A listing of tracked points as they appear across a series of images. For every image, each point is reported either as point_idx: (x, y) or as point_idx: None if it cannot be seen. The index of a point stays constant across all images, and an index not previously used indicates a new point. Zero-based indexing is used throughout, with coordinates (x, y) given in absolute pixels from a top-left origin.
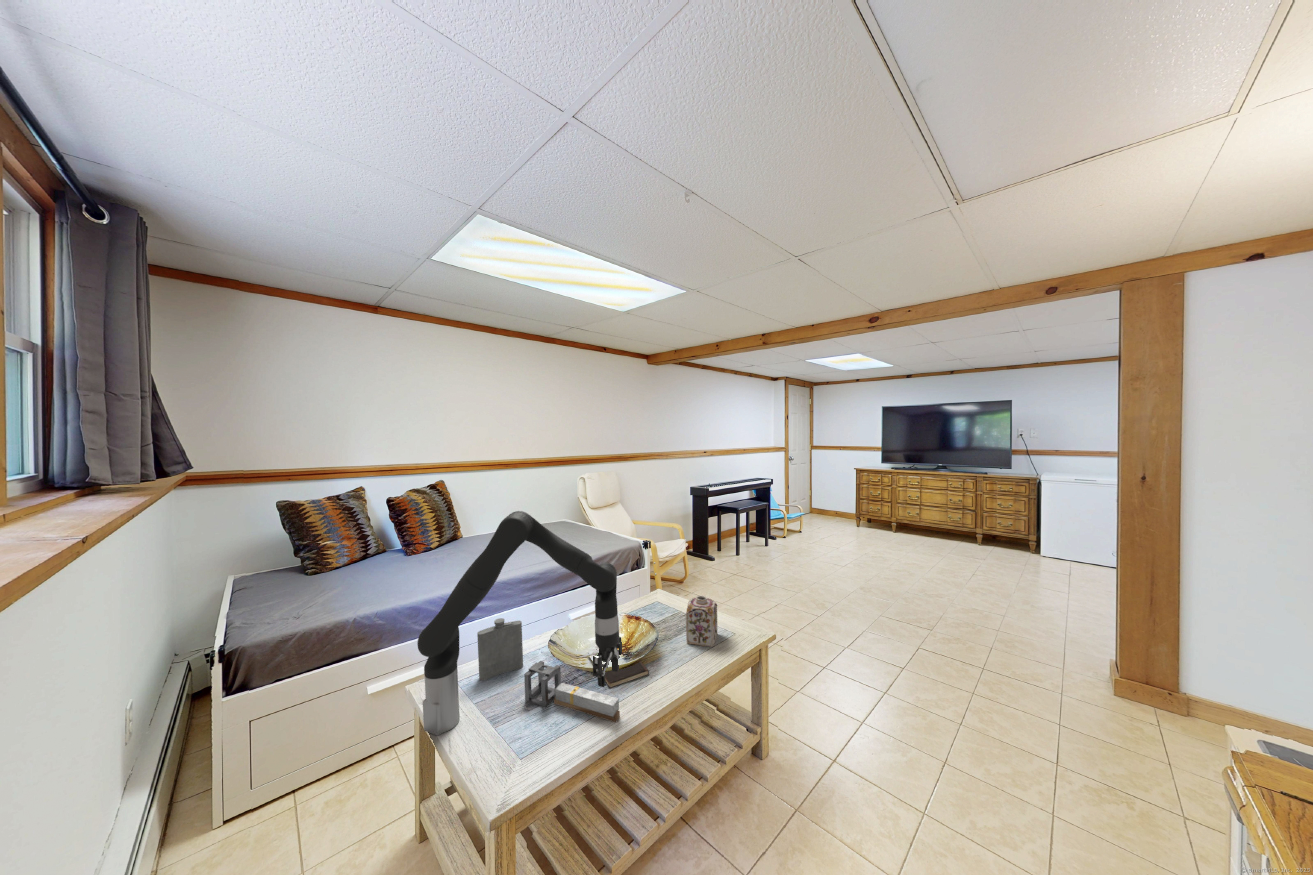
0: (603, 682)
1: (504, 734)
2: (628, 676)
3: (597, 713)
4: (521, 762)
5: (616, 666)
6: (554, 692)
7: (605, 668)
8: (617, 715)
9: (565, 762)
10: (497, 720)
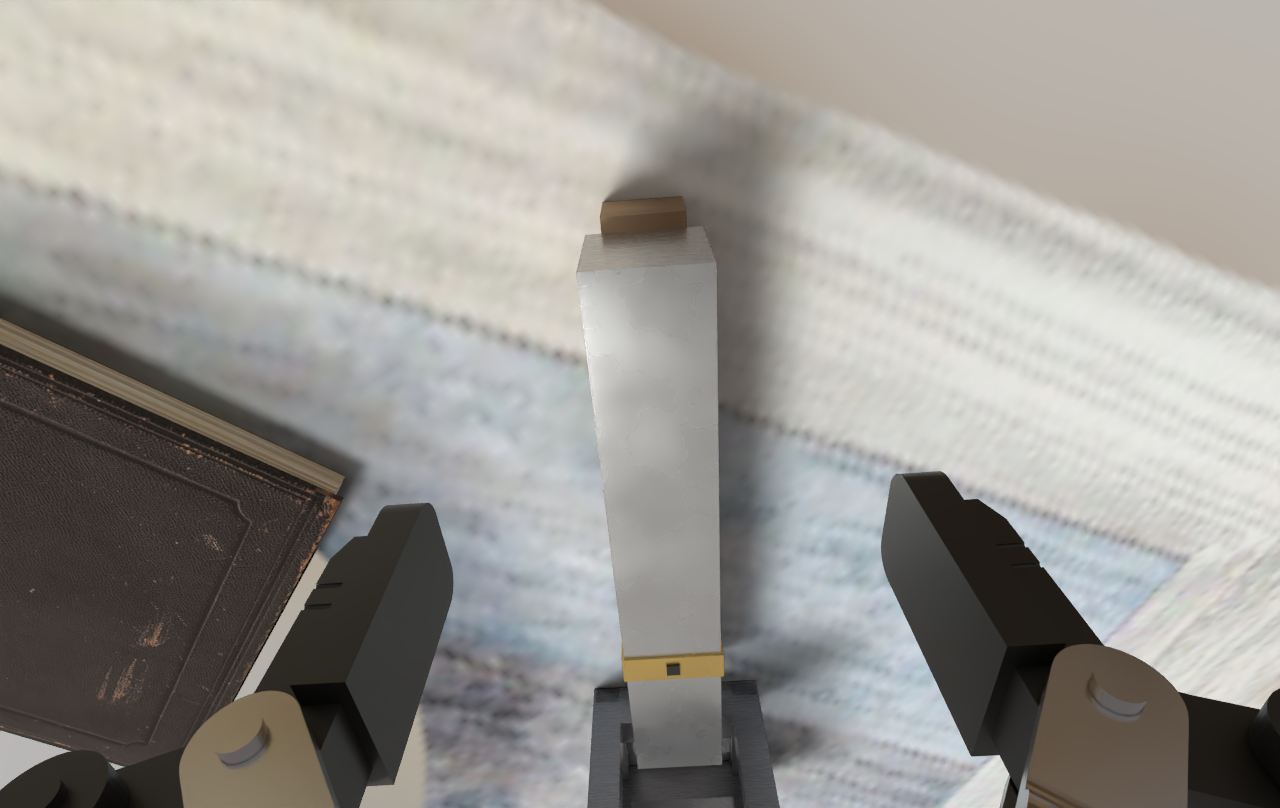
0: (973, 530)
1: None
2: (134, 413)
3: None
4: (1212, 543)
5: (405, 581)
6: None
7: (1084, 801)
8: (645, 209)
9: (1201, 313)
10: (925, 786)
